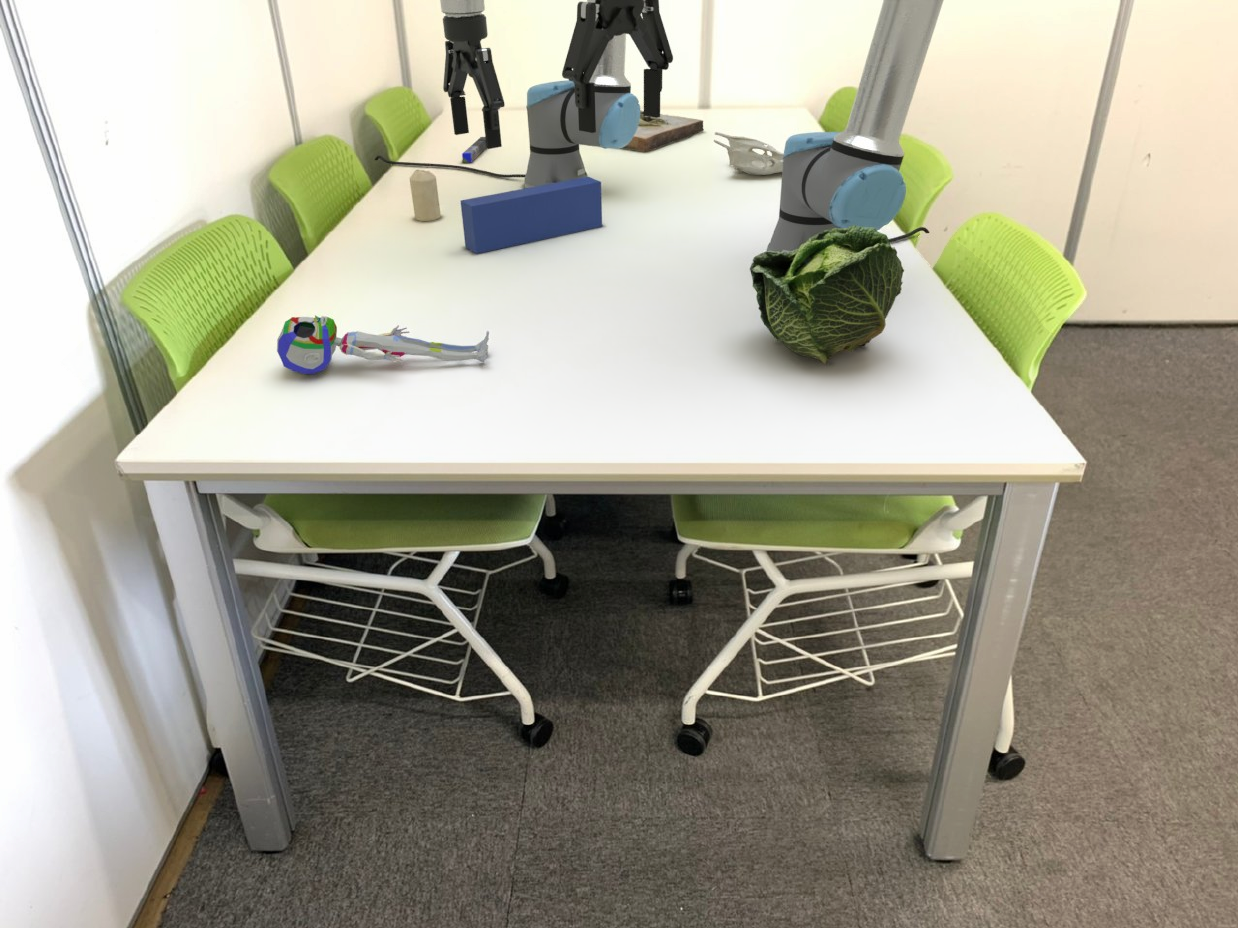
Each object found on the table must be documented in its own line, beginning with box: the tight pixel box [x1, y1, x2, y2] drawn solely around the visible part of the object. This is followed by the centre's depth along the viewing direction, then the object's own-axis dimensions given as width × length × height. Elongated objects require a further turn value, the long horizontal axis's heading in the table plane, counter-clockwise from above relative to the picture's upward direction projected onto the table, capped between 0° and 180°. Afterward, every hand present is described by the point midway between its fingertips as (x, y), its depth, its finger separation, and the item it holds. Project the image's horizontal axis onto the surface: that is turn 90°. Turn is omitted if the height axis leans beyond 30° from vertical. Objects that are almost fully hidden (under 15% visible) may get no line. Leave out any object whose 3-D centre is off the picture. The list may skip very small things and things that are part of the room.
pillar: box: [461, 136, 487, 164], centre depth 243 cm, size 2×2×20 cm
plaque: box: [622, 109, 705, 152], centre depth 257 cm, size 30×7×30 cm
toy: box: [276, 314, 490, 375], centre depth 132 cm, size 10×8×30 cm
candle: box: [409, 169, 441, 222], centre depth 192 cm, size 6×6×10 cm
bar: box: [459, 176, 603, 255], centre depth 181 cm, size 29×5×9 cm, turn 124°
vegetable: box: [749, 225, 905, 365], centre depth 131 cm, size 20×19×20 cm
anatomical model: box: [713, 131, 784, 176], centre depth 220 cm, size 15×9×25 cm
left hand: (477, 140), depth 167 cm, fingers open, 13 cm apart
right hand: (620, 124), depth 132 cm, fingers open, 13 cm apart
